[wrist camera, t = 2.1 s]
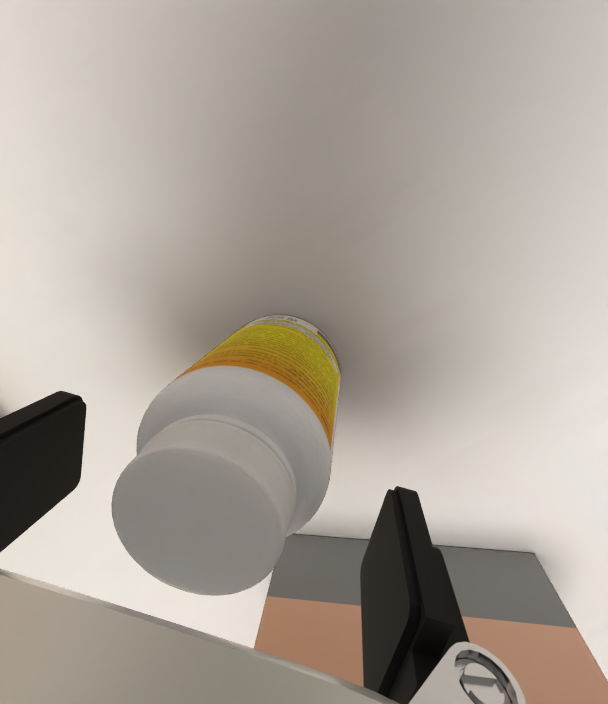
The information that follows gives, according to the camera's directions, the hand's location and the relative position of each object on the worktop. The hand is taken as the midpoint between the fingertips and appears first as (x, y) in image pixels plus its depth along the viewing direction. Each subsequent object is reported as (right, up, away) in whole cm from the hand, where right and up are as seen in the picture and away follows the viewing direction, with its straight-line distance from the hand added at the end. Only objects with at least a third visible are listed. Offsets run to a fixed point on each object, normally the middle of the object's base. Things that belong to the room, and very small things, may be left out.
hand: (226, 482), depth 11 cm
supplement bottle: (+1, +3, +7) cm, 8 cm away
